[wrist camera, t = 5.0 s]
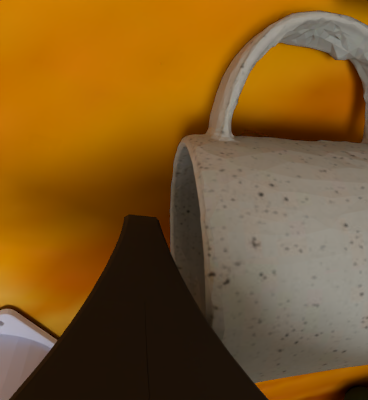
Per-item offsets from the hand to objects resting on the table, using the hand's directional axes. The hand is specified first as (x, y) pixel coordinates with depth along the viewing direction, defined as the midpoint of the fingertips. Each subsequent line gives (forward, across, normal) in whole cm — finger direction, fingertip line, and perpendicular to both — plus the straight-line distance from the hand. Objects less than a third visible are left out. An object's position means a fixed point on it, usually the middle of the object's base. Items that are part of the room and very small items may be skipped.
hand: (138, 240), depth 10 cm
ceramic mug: (+4, -5, -1) cm, 6 cm away
